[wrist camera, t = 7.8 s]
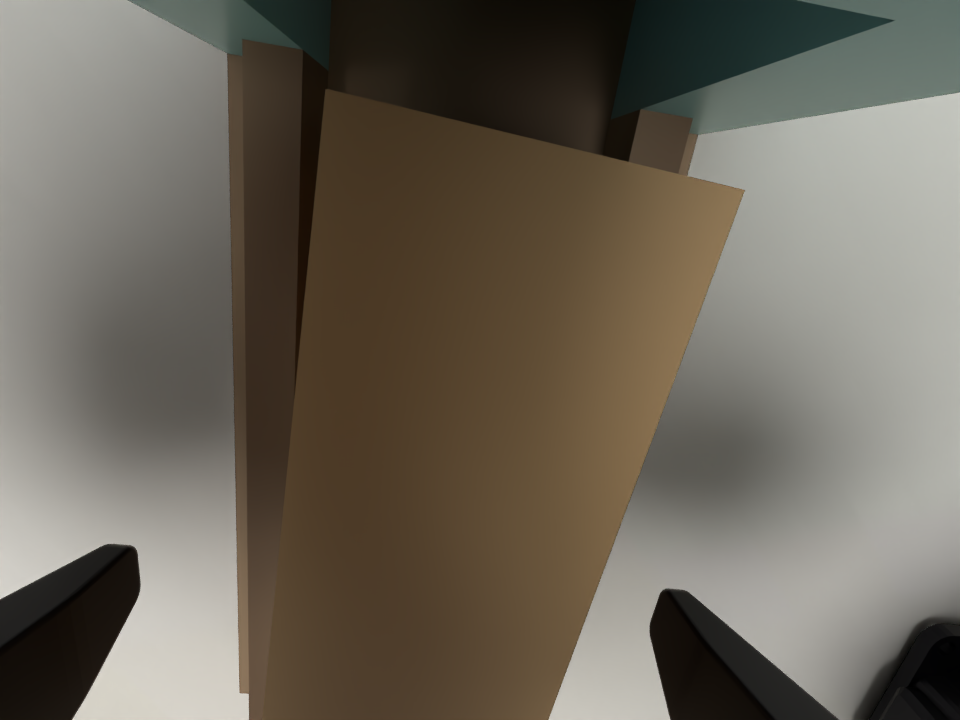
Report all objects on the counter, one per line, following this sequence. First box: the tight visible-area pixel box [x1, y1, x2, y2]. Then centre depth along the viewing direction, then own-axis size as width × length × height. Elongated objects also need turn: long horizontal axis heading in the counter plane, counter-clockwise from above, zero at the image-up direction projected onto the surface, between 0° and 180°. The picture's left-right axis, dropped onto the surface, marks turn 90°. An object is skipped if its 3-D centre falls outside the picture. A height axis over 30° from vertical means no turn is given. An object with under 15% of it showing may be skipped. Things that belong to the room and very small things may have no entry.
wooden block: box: [262, 89, 745, 720], centre depth 9 cm, size 4×14×5 cm, turn 168°
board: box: [227, 0, 698, 720], centre depth 10 cm, size 8×20×2 cm, turn 171°
